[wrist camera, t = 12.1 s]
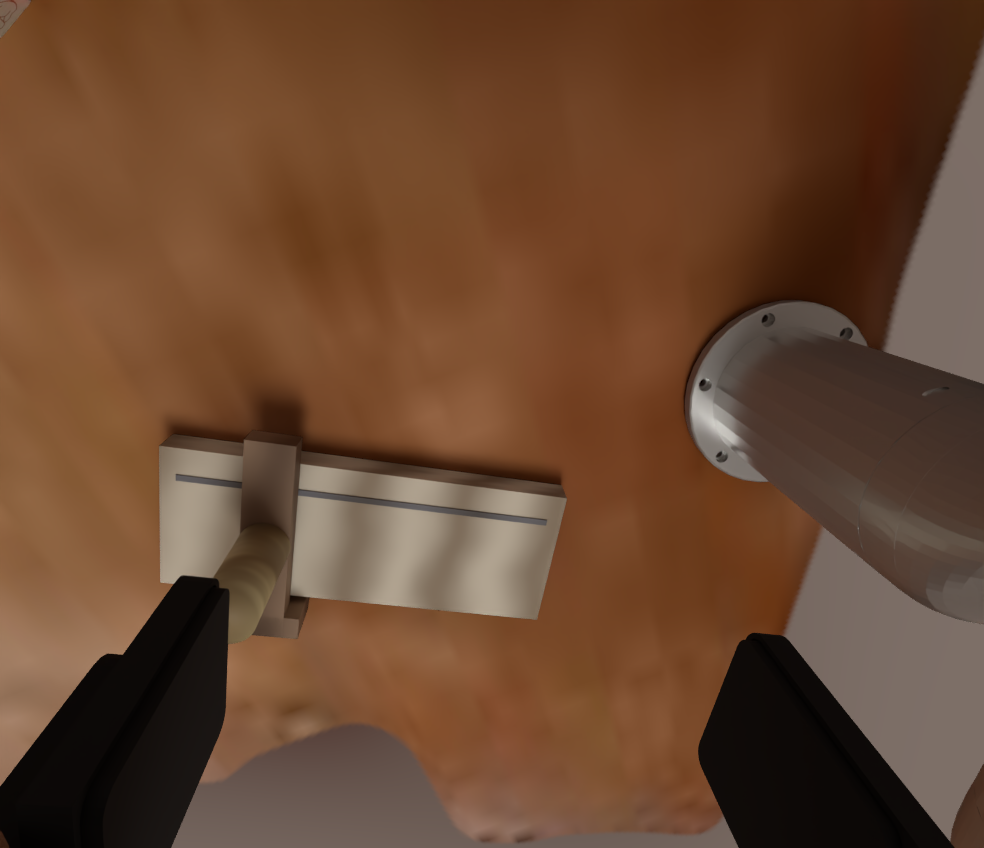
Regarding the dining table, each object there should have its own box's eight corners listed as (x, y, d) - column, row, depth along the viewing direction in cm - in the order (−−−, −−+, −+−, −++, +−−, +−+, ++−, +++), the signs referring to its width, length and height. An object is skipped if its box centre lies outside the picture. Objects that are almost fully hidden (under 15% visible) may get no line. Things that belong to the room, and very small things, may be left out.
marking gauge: (324, 429, 38) (283, 504, 28) (308, 607, 42) (268, 725, 33) (244, 418, 37) (174, 491, 27) (236, 600, 42) (174, 718, 32)
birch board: (561, 485, 41) (567, 499, 39) (532, 602, 44) (537, 620, 42) (173, 434, 38) (158, 446, 36) (173, 565, 41) (159, 583, 39)
